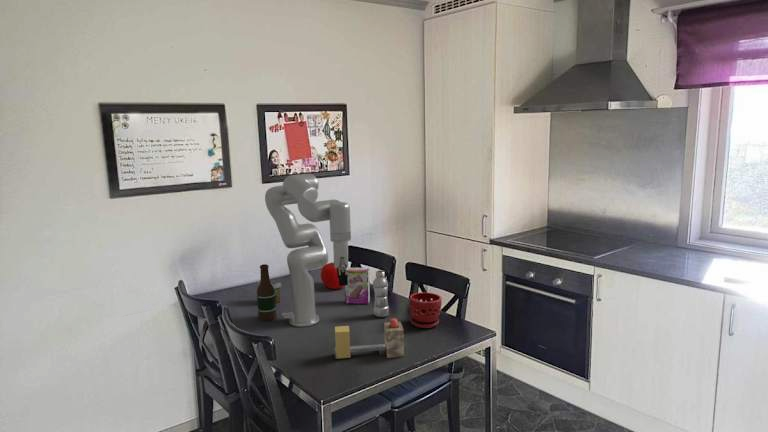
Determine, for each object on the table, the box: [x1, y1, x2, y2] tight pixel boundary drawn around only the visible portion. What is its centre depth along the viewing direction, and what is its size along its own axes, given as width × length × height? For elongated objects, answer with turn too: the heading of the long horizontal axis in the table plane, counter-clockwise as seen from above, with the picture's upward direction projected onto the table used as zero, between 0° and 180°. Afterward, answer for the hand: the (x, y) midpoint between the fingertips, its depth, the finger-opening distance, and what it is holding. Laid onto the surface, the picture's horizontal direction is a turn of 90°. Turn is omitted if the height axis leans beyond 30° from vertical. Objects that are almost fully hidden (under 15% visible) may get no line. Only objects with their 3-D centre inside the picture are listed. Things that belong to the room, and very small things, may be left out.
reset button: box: [389, 317, 398, 328], centre depth 182 cm, size 3×3×4 cm
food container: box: [256, 279, 282, 305], centre depth 237 cm, size 12×6×10 cm, turn 68°
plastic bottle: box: [372, 269, 390, 318], centre depth 217 cm, size 6×7×20 cm
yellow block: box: [334, 325, 351, 360], centre depth 180 cm, size 5×5×10 cm
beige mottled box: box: [383, 321, 405, 359], centre depth 182 cm, size 6×8×10 cm
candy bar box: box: [344, 267, 371, 305], centre depth 235 cm, size 11×5×16 cm, turn 84°
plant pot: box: [408, 291, 443, 329], centre depth 208 cm, size 13×13×12 cm
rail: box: [334, 343, 386, 359], centre depth 182 cm, size 19×2×3 cm, turn 97°
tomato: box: [320, 262, 345, 290], centre depth 258 cm, size 16×14×14 cm
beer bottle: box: [256, 263, 277, 323], centre depth 217 cm, size 8×8×24 cm
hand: (342, 281), depth 188 cm, fingers open, 9 cm apart
